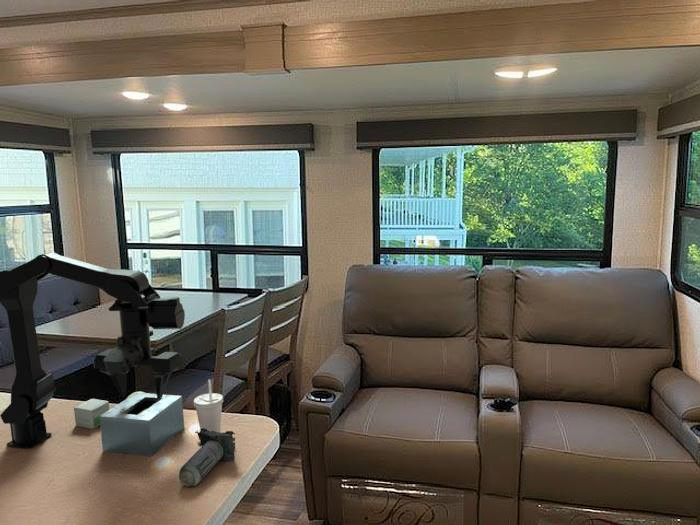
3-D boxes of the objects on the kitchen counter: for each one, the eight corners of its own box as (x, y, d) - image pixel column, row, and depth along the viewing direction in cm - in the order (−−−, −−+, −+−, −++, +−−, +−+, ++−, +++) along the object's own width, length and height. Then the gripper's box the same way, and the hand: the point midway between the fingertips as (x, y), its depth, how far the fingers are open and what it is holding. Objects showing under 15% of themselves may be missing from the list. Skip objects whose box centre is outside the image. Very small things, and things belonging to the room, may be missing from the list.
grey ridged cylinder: (206, 461, 112) (174, 496, 101) (196, 427, 111) (163, 459, 100) (244, 457, 110) (216, 493, 99) (234, 423, 109) (205, 456, 97)
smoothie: (218, 447, 115) (214, 386, 113) (191, 445, 116) (186, 384, 114) (230, 433, 121) (226, 375, 119) (204, 431, 123) (200, 374, 120)
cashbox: (102, 451, 115) (99, 416, 114) (139, 424, 127) (136, 392, 126) (152, 456, 112) (148, 420, 111) (184, 428, 125) (181, 395, 124)
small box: (93, 429, 126) (90, 410, 125) (74, 426, 128) (72, 407, 127) (111, 419, 131) (109, 400, 130) (93, 416, 133) (91, 397, 132)
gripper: (71, 338, 110) (79, 409, 113) (151, 342, 106) (157, 415, 108) (107, 324, 121) (113, 389, 123) (181, 327, 117) (186, 394, 119)
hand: (141, 397), depth 118 cm, fingers open, 9 cm apart
